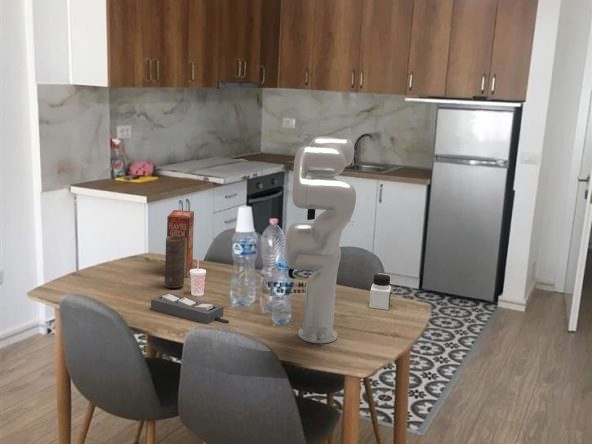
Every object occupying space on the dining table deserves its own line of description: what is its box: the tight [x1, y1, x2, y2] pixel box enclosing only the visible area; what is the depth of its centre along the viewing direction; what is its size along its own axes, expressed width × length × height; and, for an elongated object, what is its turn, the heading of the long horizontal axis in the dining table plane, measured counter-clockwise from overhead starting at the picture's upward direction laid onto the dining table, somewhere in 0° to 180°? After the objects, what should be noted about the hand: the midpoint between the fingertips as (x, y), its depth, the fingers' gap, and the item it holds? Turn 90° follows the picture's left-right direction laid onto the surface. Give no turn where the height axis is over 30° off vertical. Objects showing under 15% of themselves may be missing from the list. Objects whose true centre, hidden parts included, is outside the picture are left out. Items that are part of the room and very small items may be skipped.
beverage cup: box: [189, 257, 207, 297], centre depth 240 cm, size 6×6×14 cm
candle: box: [164, 235, 185, 289], centre depth 246 cm, size 8×7×20 cm
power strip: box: [150, 292, 230, 325], centre depth 221 cm, size 29×9×4 cm, turn 62°
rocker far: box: [162, 293, 180, 302], centre depth 224 cm, size 5×4×1 cm
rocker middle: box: [178, 298, 196, 306], centre depth 221 cm, size 5×4×1 cm
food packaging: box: [166, 209, 195, 279], centre depth 264 cm, size 13×9×25 cm
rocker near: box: [195, 303, 214, 311], centre depth 218 cm, size 5×4×1 cm
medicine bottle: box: [368, 273, 392, 311], centre depth 238 cm, size 7×7×12 cm
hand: (320, 222), depth 223 cm, fingers open, 9 cm apart
